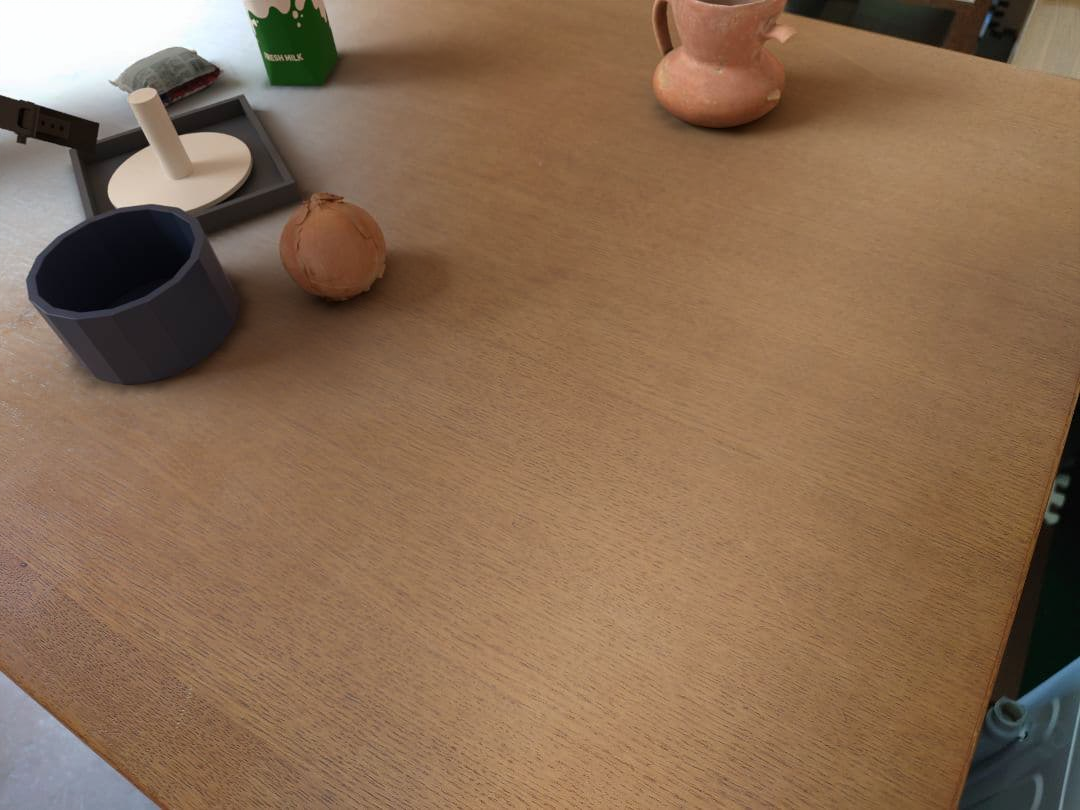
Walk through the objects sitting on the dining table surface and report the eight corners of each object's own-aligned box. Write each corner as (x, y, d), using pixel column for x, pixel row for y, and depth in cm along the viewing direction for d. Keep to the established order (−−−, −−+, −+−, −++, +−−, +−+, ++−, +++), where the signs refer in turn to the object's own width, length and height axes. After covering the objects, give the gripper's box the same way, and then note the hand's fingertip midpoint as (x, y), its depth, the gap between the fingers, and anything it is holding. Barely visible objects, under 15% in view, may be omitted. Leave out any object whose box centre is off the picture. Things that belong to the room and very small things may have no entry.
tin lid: (103, 170, 89) (53, 86, 81) (235, 126, 93) (200, 42, 85) (125, 243, 80) (72, 157, 72) (271, 192, 84) (235, 105, 76)
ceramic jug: (816, 107, 88) (845, -26, 77) (731, 162, 82) (749, 28, 71) (695, 55, 97) (706, -70, 86) (612, 102, 91) (612, -26, 80)
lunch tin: (71, 310, 75) (19, 241, 68) (219, 256, 79) (183, 185, 72) (92, 411, 66) (35, 343, 60) (257, 345, 70) (220, 274, 63)
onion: (342, 285, 79) (313, 186, 75) (417, 282, 75) (390, 176, 70) (276, 318, 72) (240, 210, 67) (355, 317, 67) (321, 201, 63)
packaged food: (118, 100, 100) (99, 63, 96) (200, 63, 105) (185, 27, 101) (149, 124, 96) (130, 87, 92) (233, 86, 101) (218, 48, 97)
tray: (80, 168, 91) (68, 149, 89) (251, 113, 96) (243, 93, 94) (107, 273, 78) (94, 252, 76) (302, 202, 83) (294, 182, 81)
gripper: (-149, 4, 46) (148, 107, 66) (-362, -48, 54) (-41, 57, 74) (-163, 131, 48) (132, 194, 67) (-369, 62, 56) (-52, 137, 75)
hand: (42, 123), depth 71 cm, fingers open, 13 cm apart
